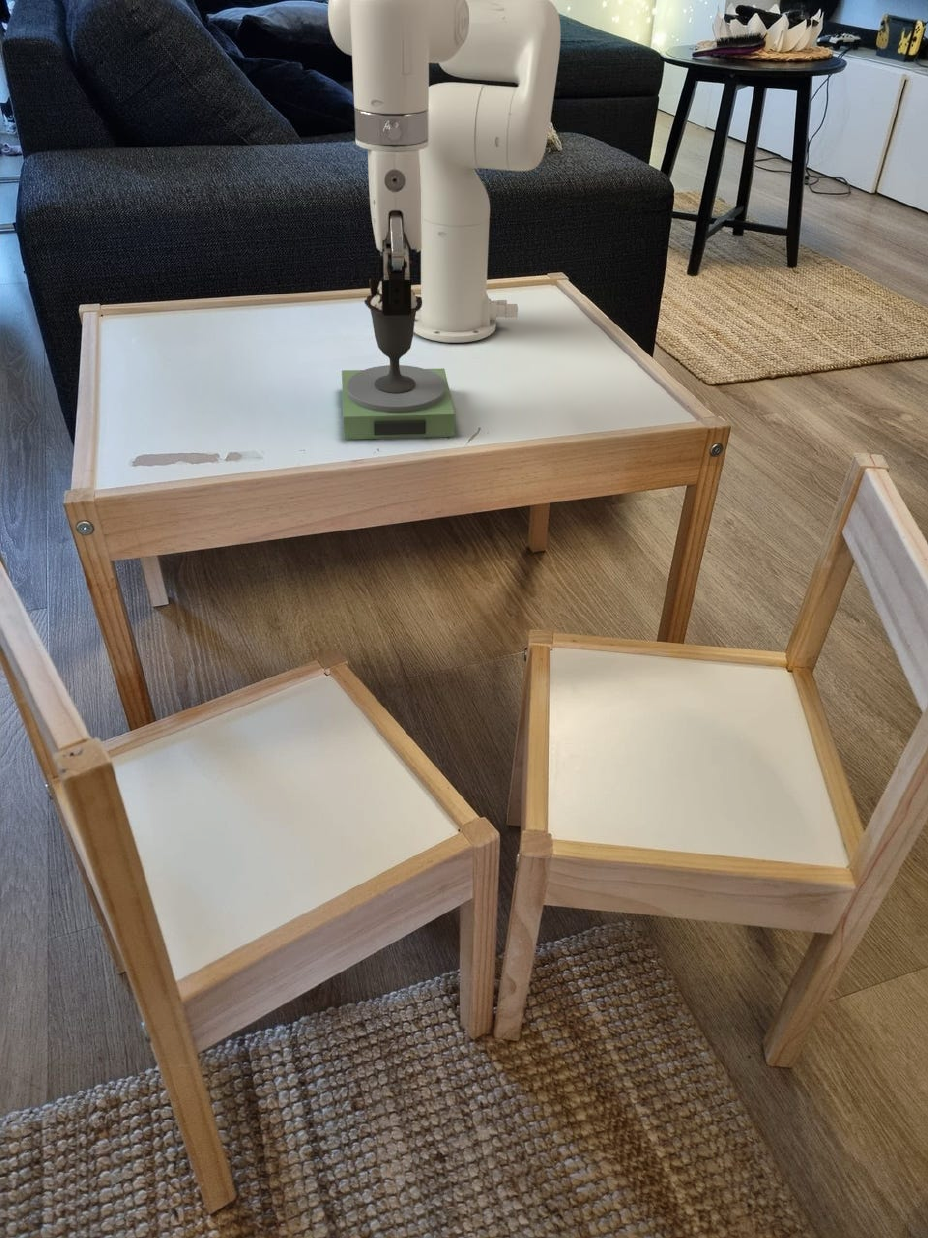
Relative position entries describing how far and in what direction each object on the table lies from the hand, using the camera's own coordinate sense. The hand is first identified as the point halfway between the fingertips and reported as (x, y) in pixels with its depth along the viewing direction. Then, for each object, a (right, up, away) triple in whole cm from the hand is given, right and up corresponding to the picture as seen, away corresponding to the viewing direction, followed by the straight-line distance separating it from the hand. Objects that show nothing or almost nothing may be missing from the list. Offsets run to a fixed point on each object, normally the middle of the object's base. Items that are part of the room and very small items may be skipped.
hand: (394, 301), depth 105 cm
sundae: (0, -8, +6) cm, 10 cm away
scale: (0, -11, +9) cm, 14 cm away
